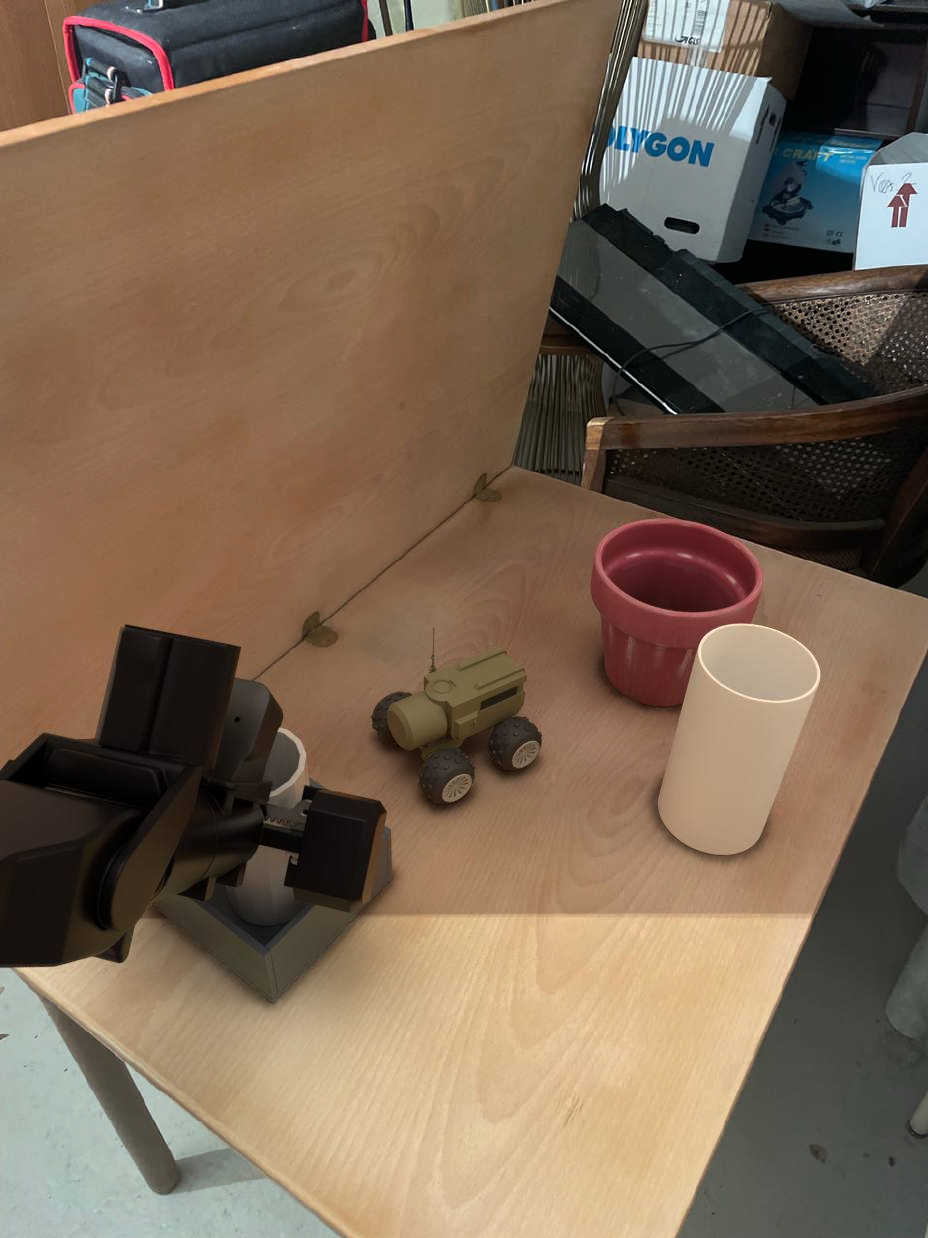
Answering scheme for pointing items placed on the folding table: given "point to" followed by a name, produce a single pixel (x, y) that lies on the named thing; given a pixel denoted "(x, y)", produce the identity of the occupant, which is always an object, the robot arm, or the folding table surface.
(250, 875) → the tumbler
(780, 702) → the cup
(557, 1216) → the folding table surface
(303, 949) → the open box
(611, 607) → the flower pot
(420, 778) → the toy vehicle
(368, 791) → the folding table surface
